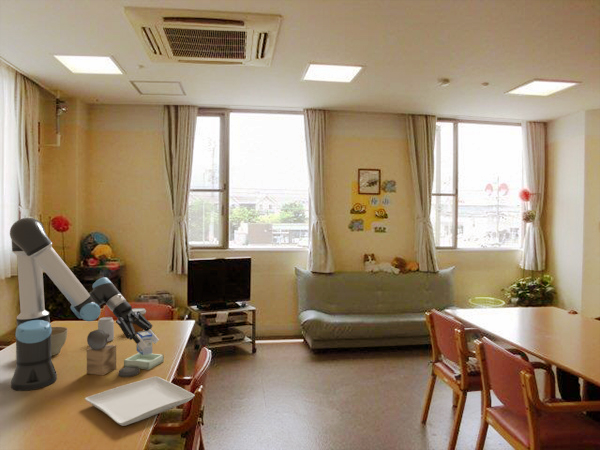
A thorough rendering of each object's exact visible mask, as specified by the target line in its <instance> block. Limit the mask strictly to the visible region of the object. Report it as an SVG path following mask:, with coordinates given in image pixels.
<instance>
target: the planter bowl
mask: <svg viewBox="0 0 600 450" xmlns="http://www.w3.org/2000/svg"><path fill="white" fill-rule="evenodd" d="M51 328H52V332H51V357H52V356H55V355H59V354H60V353H61V350H62V348H63V347H64V345H65V344H66V340H67V337H68V331H69V330H68V327H64V326H51Z"/></svg>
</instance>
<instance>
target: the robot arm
mask: <svg viewBox="0 0 600 450" xmlns="http://www.w3.org/2000/svg"><path fill="white" fill-rule="evenodd" d="M44 227H45V226H44V224H43V223H42V222H41V221H39V220H38V219H35V218H33V217H24V218H19V219H18V220H16V221H15V222H14V223H13V224H12V225H11V227H10V230H9V236H10V240H11V252H12V253H13V254H15V255H16V259H17V260H16V262H17V278H18V293H19V294H18V295H19V308H20V313H19V314H18V315H17V316H16V329H15V334H14V335H15V354H16V355H15V357H16V358H15V359H16V360H15V362H16V365H15V369H14V372H13V375H12V378H11V382H10V388H11V389H13V390H14V391H30V390H36V389H40V388H44V387H47V386H49V385H51V384H53V383H55V382H56V380H57V379H58V378H57V377H58V376H57V375H58V374H57V371H56V368H55V365H54V363H53V361H52V356H51V332H52V328H51V327H52V324H51V320H50V311H48V310H46V309H45V292H44V291H45V290H44V275H43V271H44V273H45V274H46V275H47V276H48V277H49V279H50V280H51V281H52V282H53V284H54V285H55V286H56V287H57V289H58V290H59V291H60V292H61V294H62V295H64V297H65V298H66V299H67V301H68V302H69V303H70V304H71V305H70V310H71V311H72V312H73V313H74V315H75V316H76V317H77V318H78V319H79V320H81V319H82V320H84V321H86V322H93V321H96V320H98V318H99V317H100V315H101V305H103V304H105V305H106V306H107V308H108V309H109V310H110V311H111V312H112V314H113V315H114V316H115V317H116V318H117V319H116V321H115V323H116V324H117V325H118V327H119V328H120V330H121V331H122V332H123V334H124V336H125V338H126V339H127V340H130V341H132V340H133V341H134V342H135V344H136V345H137V344H138V345H139V347H140V348H141V349H142V350H144V348H145V347H146V346H147V345H146V344H145V342H144V341H143V340H142V339H141V337H140V336H139V335H138V334H137V332H135V330H134V328H133V325H132V323H133V324H136V325H138V326H139V327H140V328H142V329H143V331H147V332H149V333H150V334H152V344H155V345H156V344H157V343H158V342H159V341H160V338H158V336H157V335H156V334H155V332H154V331H153V330H152V328H153V324H152V323H151V322H150V321H149V320H148V319H147V318H146V317H143V316H142V314H141V313H140V311H138V312H136V313H135V312H133V311H132V309H133V307H132V305H131V304H130V303H129V302H128V301H127V299H126V298H125V297H124V296H123V294H122V293H121V292H120V290H118V288H117V287H116V286H115V285H114V284H113V282H112V281H111V280H110V279H109V278H108V277H100V278H98V279H97V280H95V282H94V283H92V290H91V291H90V292H88V290H87V289H86V288H85V286H84V285H83V284H82V283H81V282H80V280H79V279H78V278H77V277H76V275H75V274H74V272H72V270H71V269H70V268H69V266H68V265H67V264H66V263H65V262H64V260H63V259H62V257H60V255H59V253H57V252H56V250H55V249H54V248H53V242H52V241H51V239H50V237H49V236H48V234H47V233H46V230H45V228H44Z"/></svg>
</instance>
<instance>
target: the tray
mask: <svg viewBox="0 0 600 450" xmlns="http://www.w3.org/2000/svg"><path fill="white" fill-rule="evenodd" d="M164 359H165V358H164V354H159V353H152V354H148V355H142V354H140V353H139V352H137V353H135V354H133V355H131V356H130V357H127V358H125V359H124V360H123V368H125V367H139V370H140V369H141V370H147V371H148V370H151V369H153V368H154V367H156V366H158V365H160V364H162V363H163V362H164V361H165V360H164Z"/></svg>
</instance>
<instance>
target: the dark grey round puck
mask: <svg viewBox="0 0 600 450" xmlns="http://www.w3.org/2000/svg"><path fill="white" fill-rule="evenodd" d="M139 374H140V369H139V367H123V368H121V369H119V370H118V376H119V377H121V378H131V377H133V376H137V375H139Z"/></svg>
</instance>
